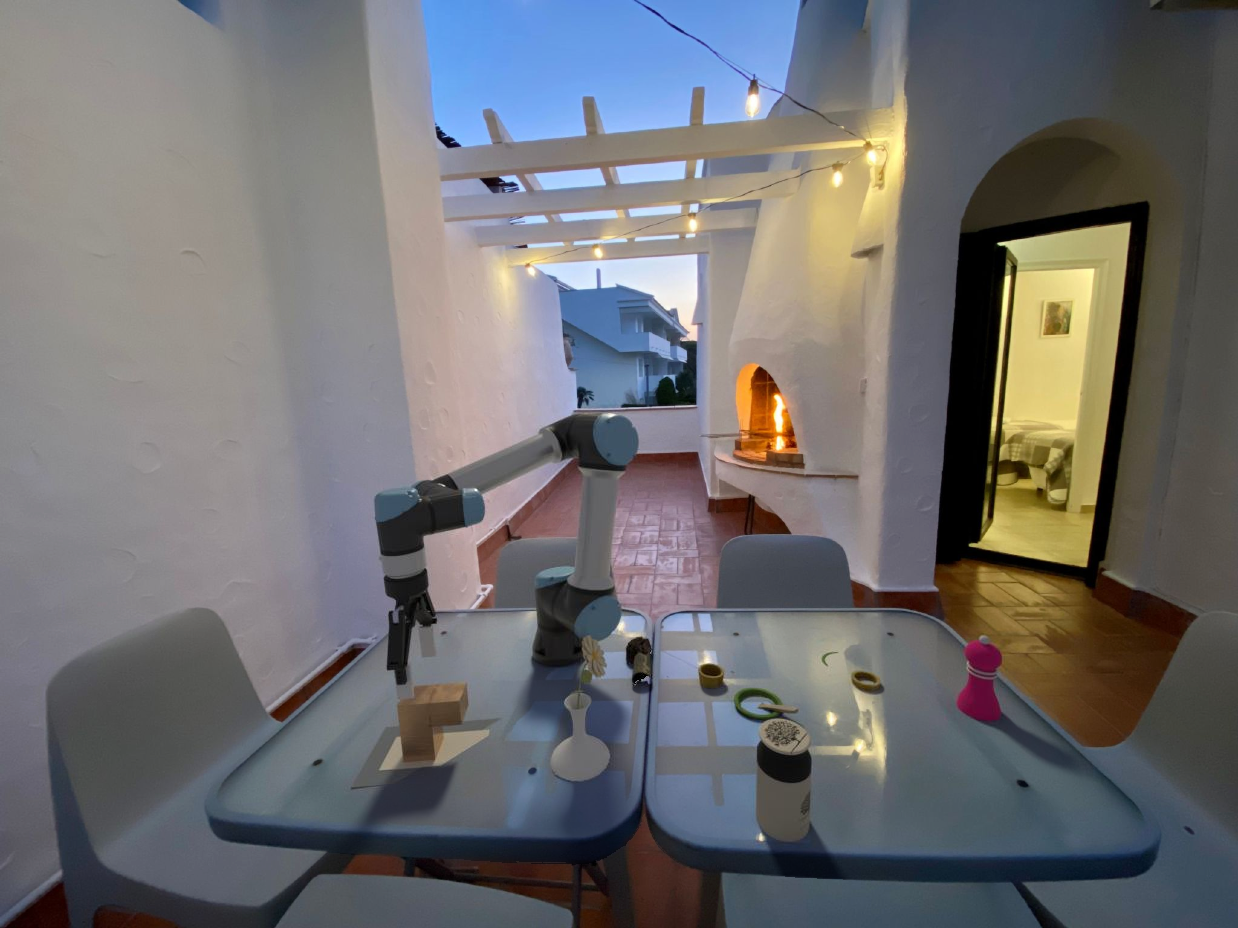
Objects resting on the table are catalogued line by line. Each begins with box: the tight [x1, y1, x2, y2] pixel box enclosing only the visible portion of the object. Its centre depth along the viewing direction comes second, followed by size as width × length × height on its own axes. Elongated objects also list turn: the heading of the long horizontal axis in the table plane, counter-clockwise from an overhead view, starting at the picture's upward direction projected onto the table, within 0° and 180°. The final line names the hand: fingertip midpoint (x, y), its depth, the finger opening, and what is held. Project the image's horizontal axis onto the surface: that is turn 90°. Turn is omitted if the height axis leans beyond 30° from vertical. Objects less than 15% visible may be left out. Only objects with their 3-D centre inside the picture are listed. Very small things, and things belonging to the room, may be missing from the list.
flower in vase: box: [550, 635, 611, 782], centre depth 92 cm, size 13×11×25 cm
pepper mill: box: [956, 634, 1003, 722], centre depth 99 cm, size 7×7×20 cm
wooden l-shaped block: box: [396, 681, 469, 763], centre depth 97 cm, size 6×12×12 cm, turn 94°
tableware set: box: [697, 651, 882, 721], centre depth 113 cm, size 41×28×6 cm
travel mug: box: [755, 718, 813, 843], centre depth 76 cm, size 8×8×18 cm
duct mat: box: [350, 717, 502, 789], centre depth 98 cm, size 26×16×1 cm, turn 94°
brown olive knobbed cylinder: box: [625, 636, 653, 685], centre depth 124 cm, size 18×7×6 cm, turn 176°
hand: (418, 675), depth 95 cm, fingers open, 13 cm apart
